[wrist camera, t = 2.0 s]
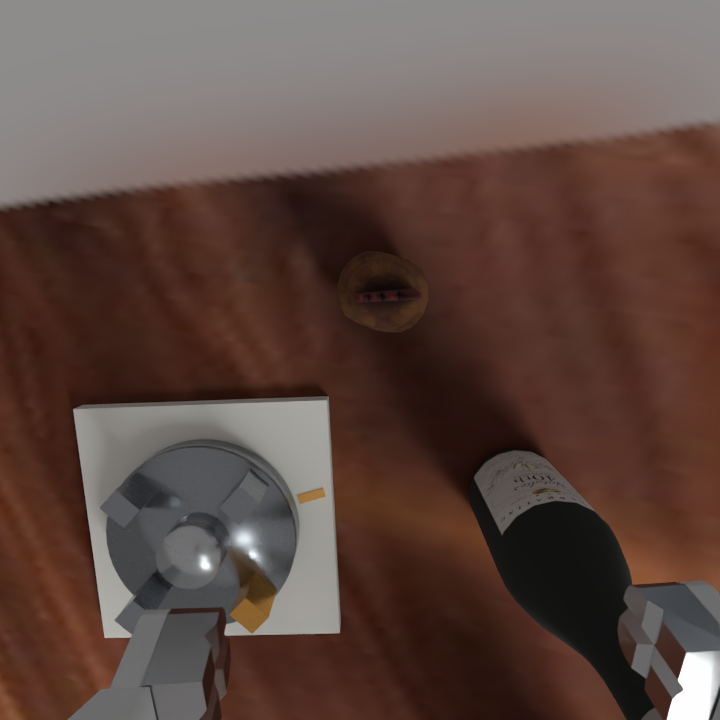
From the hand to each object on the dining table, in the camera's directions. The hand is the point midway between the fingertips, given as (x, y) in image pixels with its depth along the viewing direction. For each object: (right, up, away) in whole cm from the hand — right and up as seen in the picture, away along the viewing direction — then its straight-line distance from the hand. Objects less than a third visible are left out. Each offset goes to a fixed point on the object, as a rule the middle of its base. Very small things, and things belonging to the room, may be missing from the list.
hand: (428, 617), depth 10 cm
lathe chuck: (-15, -10, +35) cm, 39 cm away
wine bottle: (+12, -6, +36) cm, 38 cm away
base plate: (-15, -9, +37) cm, 41 cm away
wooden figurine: (0, +11, +33) cm, 35 cm away
